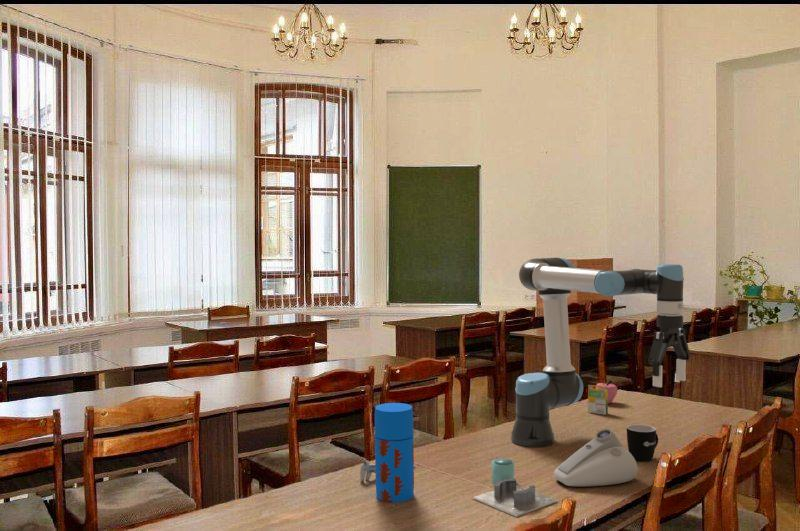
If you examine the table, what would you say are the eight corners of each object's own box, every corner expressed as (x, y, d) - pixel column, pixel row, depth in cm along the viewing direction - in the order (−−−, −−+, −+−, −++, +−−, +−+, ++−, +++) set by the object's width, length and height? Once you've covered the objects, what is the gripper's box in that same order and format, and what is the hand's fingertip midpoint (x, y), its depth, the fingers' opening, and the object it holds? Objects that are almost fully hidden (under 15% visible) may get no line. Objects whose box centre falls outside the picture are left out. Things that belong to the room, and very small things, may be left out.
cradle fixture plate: (473, 499, 188) (473, 484, 188) (513, 485, 197) (513, 471, 197) (516, 517, 175) (516, 501, 175) (556, 501, 185) (556, 487, 185)
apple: (604, 399, 302) (604, 377, 302) (621, 403, 295) (621, 380, 295) (591, 403, 296) (591, 380, 295) (609, 406, 289) (609, 383, 289)
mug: (642, 465, 214) (642, 433, 213) (620, 457, 222) (620, 426, 221) (668, 458, 220) (668, 427, 219) (646, 451, 227) (646, 421, 227)
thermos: (392, 485, 199) (391, 400, 198) (421, 494, 192) (420, 406, 191) (367, 496, 190) (366, 408, 190) (397, 505, 184) (396, 414, 183)
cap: (487, 481, 201) (487, 460, 201) (502, 476, 205) (502, 456, 205) (503, 487, 196) (503, 466, 196) (518, 482, 200) (518, 461, 200)
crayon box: (608, 413, 278) (607, 385, 278) (606, 415, 276) (605, 386, 275) (590, 411, 282) (590, 383, 282) (588, 412, 279) (587, 384, 279)
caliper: (362, 483, 202) (362, 462, 202) (360, 482, 203) (360, 461, 203) (415, 468, 214) (415, 448, 214) (413, 467, 215) (413, 448, 215)
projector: (564, 463, 217) (564, 418, 216) (640, 472, 208) (640, 425, 207) (550, 486, 197) (550, 436, 196) (633, 497, 187) (633, 445, 187)
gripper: (659, 318, 197) (658, 391, 198) (702, 312, 213) (701, 379, 214) (635, 316, 203) (635, 387, 204) (679, 310, 219) (679, 376, 220)
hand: (669, 383), depth 209 cm, fingers open, 13 cm apart
